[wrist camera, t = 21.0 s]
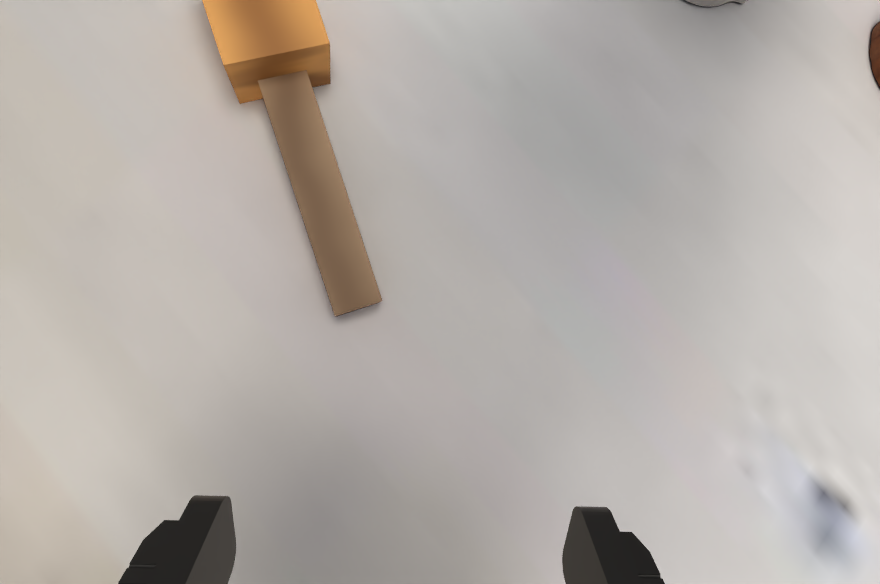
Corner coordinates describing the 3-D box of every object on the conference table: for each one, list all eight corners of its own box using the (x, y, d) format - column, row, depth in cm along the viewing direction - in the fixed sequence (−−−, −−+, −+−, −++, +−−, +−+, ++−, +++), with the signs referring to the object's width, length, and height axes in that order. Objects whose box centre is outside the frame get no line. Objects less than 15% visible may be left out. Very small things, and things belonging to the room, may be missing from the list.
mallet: (297, -16, 34) (291, -73, 29) (400, 295, 34) (411, 290, 29) (205, 0, 33) (183, -56, 28) (312, 323, 33) (308, 323, 28)
